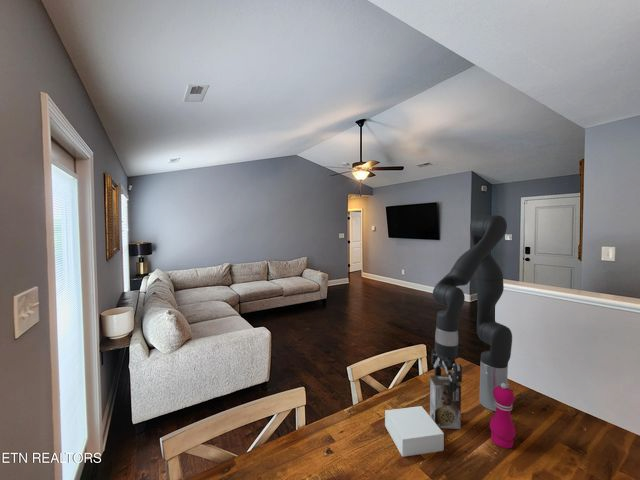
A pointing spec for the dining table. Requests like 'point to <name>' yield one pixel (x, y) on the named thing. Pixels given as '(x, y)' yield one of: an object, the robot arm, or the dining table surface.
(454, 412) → the coffee box
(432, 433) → the riser block
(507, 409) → the pepper mill
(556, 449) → the dining table surface
